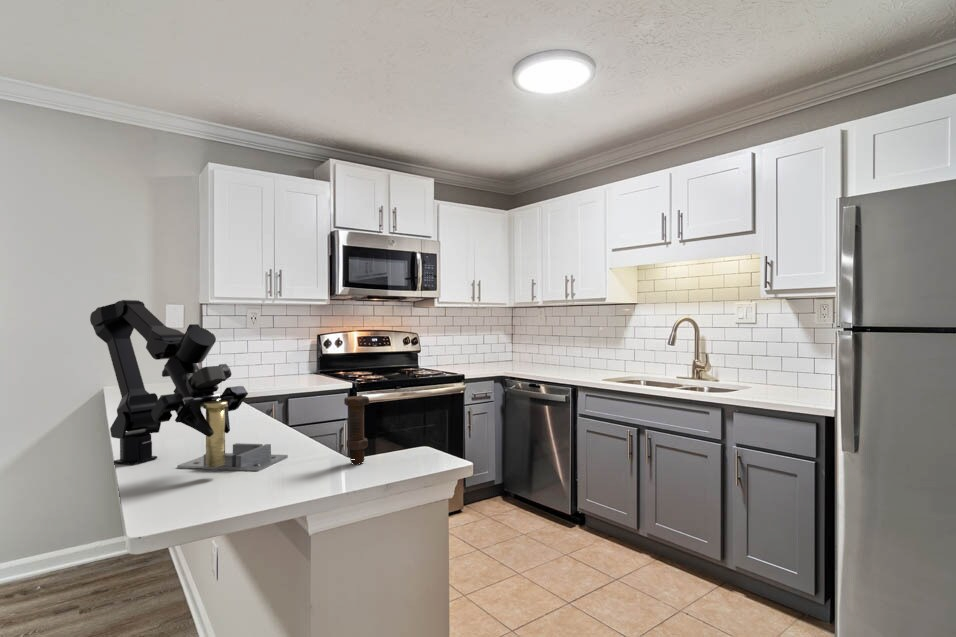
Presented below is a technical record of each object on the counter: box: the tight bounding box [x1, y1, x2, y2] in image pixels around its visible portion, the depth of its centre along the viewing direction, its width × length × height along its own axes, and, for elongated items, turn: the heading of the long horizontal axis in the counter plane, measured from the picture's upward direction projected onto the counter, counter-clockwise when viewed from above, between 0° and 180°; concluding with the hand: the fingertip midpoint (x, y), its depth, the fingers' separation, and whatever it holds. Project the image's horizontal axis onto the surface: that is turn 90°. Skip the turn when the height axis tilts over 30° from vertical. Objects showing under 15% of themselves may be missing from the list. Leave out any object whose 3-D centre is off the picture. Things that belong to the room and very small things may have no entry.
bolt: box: [343, 395, 370, 465], centre depth 120 cm, size 6×5×15 cm
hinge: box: [176, 442, 289, 472], centre depth 122 cm, size 20×12×3 cm, turn 80°
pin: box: [202, 401, 228, 467], centre depth 110 cm, size 5×5×13 cm
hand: (219, 433), depth 109 cm, fingers closed on pin, 4 cm apart
